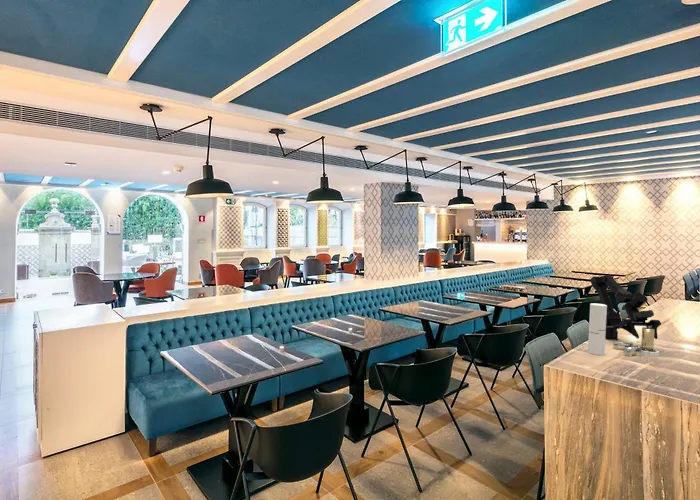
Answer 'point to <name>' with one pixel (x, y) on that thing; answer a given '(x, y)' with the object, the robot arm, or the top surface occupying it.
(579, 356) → the top surface
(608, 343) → the top surface
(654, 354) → the socket ring
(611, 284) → the robot arm
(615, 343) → the shaft
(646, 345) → the tan cylindrical piece
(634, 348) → the shaft
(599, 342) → the light grey tall block
